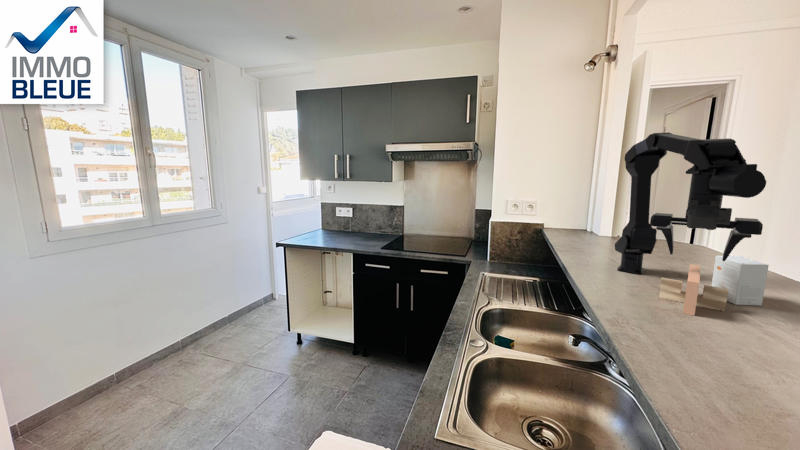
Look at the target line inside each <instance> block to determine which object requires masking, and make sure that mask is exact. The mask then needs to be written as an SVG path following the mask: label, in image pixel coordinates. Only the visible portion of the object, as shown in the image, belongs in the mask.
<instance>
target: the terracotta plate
mask: <svg viewBox="0 0 800 450" xmlns="http://www.w3.org/2000/svg"><path fill="white" fill-rule="evenodd" d="M687 276H688V277H687V282H686V288H685V292H686V294H685V301H684V303H683V309H682V314H685V315H688V316H689V315H690V316H695V315H696V308H697V306H696V302H697V296H698V294H699V289H700V281H701V279H700V278H701V265H697V264H691V263H690V264H689V268H688V275H687Z"/></svg>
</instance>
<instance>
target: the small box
mask: <svg viewBox="0 0 800 450" xmlns="http://www.w3.org/2000/svg"><path fill="white" fill-rule="evenodd" d="M722 258H723V255H715V258H714V259H715V260H714V264H713V265H714V266H713V272H712V273H713V274H712V279H711V286H714V287H719V288H725V289H728V296H727V302H729V303H731V304H733V305H737V306H745V305H746V306H762V305H763V301H764V294H765V288H766V283H767V276H768V271H769V266H770V265H769V264H767V263H764V262H760V261H757V260H754V259H750V258H749V257H744V256H743V255H742V256H741V255H729V256H728V257H727V259H726V260H725V261H722Z"/></svg>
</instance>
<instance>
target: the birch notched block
mask: <svg viewBox="0 0 800 450" xmlns="http://www.w3.org/2000/svg"><path fill="white" fill-rule="evenodd" d="M660 280H661V281H660V287H659V295H658V299H664V300H667V299H668V300H669V301H673V302H677V301H678V303H682V302H683V304H684V301H685V294H686V291H683V290H682V286H683V280H678V279H674V278H673V279H672V278H665V277H661V279H660ZM727 296H728V289H725V288H719V287H714V286H712V285H707V284H704V285H703V291H702V294H699V293H698V296H697V302H696V307H697V306H698V307H701V308H707V309H711V310H716V309H717V310H716V311H720V310H722V311H721V312H726V307H727V302H728V301H727ZM668 300H667V301H668Z"/></svg>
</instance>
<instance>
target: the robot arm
mask: <svg viewBox="0 0 800 450" xmlns="http://www.w3.org/2000/svg"><path fill="white" fill-rule="evenodd" d="M736 143H737V142H736V140H735V139H733V138H709V139H705V138H704V139H702V138H701V139H700V138H695V137H691V136H685V135H679V134H674V133H672V132H653V133H652V134H651V133H650V134H648V136H646V138H645V139H643V140H641V141H639V142H638V143H636V144H634V145H632V146H631V147H630V149H628V151H627V152H625V155H624V163H625V170H626V171H627V173H628V174H629V175H630V180H631V182H630V199H629V200H630V201H629V217H628V219H629V220H628V223H627V224H626V225H625V227H623V228H622V232H621V233H622V234H621V237H620V238H618V240H617V241H616V242H615V243H614V251H616V252H618V253H620V254H621V255H620V256H621V257H620V265H619V266H617V269H616V270H617V271H620V272H624V273H625V272H626V273H631V274H637V275H642V274H643V273H644V271H645V268H644V267H643V261H644V254H645V255H652V253H653V251H654V248H655V246H656V243H657V232H658V231H661V232H662V234H663V235H664V238H665V240H666V244H667V247H668V251H669V253H670V255H673V254H674V225H675V226H676V225H677V226H686V227H687V228H689V229H702V230H703V229H704V230H707V231H714V230H717V228H718V229H728V230H729V229H730V232H729V235H728V238H727V241H726V244H725V247H724V250H723V254H722V256H723V258H722V261H725V260H726V259H727V257H728V256H730V255H731V253H732V252H733V250H734V249H735V247H736V246H737V245H738V244H739V243H741V241H742V240H744V239H747V238H748V239H750V238H752V237H753V236H752V235H755V236H761V235H762V233H763V228H764V225H763V223H762V221H760V220H759V219H758V218H749V217H735V218H734V220H731V218H732V213H733V212H732V211H733V208H731V207H722V205H723V204H722V203H723V198H724V197H725V196H727V197H735V198H745V199H746V198H747V199H749V198H754V197H756V196H758V195H760V194H761V193H762V192H763V191H764V189H765V187H766V185H767V180H766V177H765V175H764V174H763V173H762V171H760V170H758V169H757V168H758V164H757V163H747V160H746V158H744V156H743V153H741V151H740V149H739V147H738V145H737V144H736ZM668 152H671V153H675V154H677V155H678V154H679V155H681V156H683V159H684V160H685V161H687V162H688V163H690V164H692V165H693V166H691V167H690V168H688V169H687V170H686V171H685V174H686V175H691V178H690V186H689V194H688V201H687V207H686V210H685V216H684V217H679V216H678V217H676V216H675V217H674V215H673V213H662V212H656V213H653V215H652V216H651V217H650V208H651V206H650V205H651V187H652V177H653V174H654V173H655V172H656V171H657V169H659V166H660V162H661V161H660V160H662V159H663V158H665V156H666V155H667V154H668ZM723 196H724V197H723ZM653 227H655V228H653Z"/></svg>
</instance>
